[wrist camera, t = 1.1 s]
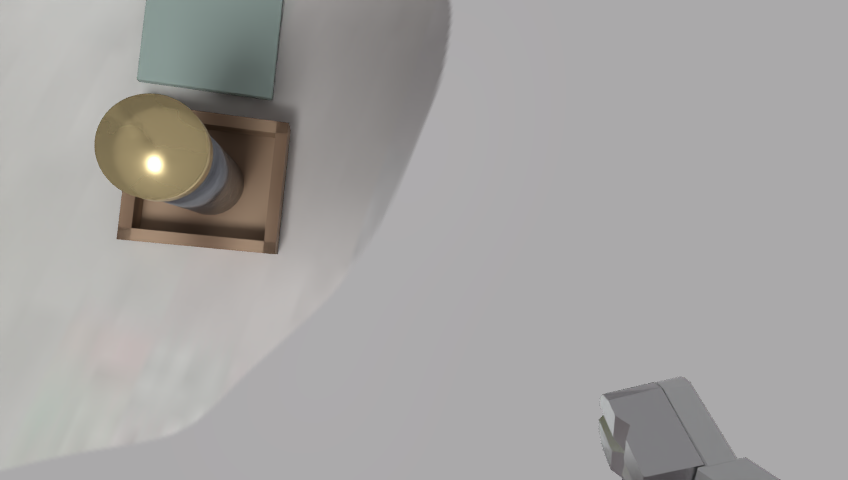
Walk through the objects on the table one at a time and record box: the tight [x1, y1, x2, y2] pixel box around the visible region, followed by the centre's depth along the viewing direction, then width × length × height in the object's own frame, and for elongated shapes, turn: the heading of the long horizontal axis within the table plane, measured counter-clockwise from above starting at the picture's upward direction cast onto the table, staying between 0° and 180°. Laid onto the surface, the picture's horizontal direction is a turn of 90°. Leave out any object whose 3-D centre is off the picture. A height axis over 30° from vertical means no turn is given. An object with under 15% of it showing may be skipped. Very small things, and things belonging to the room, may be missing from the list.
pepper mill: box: [95, 93, 244, 215], centre depth 34 cm, size 5×5×14 cm
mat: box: [137, 0, 283, 100], centre depth 41 cm, size 9×9×1 cm
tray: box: [117, 110, 291, 254], centre depth 40 cm, size 10×9×2 cm
